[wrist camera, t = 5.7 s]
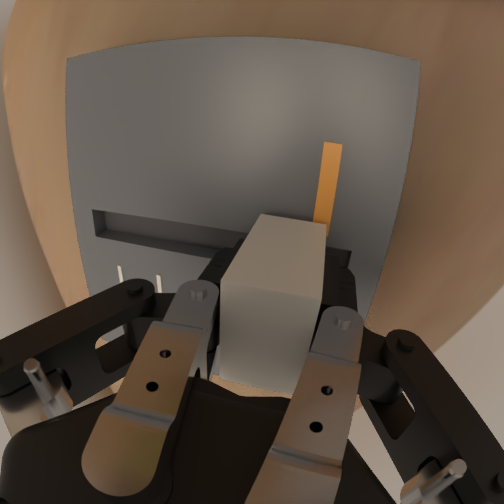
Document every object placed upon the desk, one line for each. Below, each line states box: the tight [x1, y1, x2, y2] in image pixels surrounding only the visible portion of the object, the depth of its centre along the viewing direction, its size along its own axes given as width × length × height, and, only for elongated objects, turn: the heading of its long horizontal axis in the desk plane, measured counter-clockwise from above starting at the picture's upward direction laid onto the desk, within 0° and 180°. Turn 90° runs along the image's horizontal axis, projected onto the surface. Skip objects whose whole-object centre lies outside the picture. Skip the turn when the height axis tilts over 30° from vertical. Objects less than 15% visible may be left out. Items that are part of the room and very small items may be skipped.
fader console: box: [66, 36, 421, 376], centre depth 16 cm, size 18×16×3 cm
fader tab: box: [219, 214, 327, 395], centre depth 12 cm, size 4×3×6 cm, turn 176°
